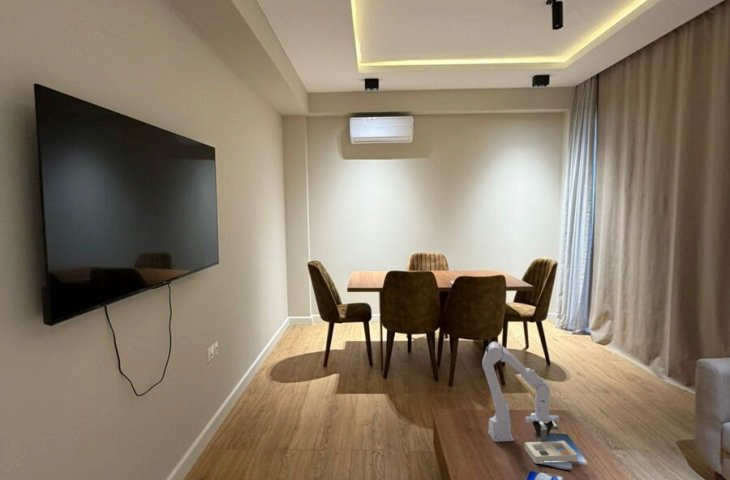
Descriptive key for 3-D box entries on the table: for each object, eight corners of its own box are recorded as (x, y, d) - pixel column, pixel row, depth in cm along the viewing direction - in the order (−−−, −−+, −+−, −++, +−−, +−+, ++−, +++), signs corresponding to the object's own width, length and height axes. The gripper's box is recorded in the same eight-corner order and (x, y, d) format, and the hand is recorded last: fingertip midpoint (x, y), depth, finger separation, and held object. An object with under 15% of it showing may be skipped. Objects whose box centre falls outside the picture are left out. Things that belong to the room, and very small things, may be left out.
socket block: (535, 463, 157) (535, 455, 157) (524, 448, 167) (524, 441, 167) (577, 461, 157) (577, 454, 157) (564, 447, 167) (564, 440, 167)
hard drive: (557, 425, 183) (546, 412, 195) (540, 425, 183) (530, 412, 196) (557, 429, 183) (546, 415, 195) (540, 428, 183) (530, 415, 196)
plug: (540, 444, 170) (540, 427, 169) (537, 441, 173) (537, 424, 172) (547, 444, 170) (547, 427, 169) (543, 440, 173) (543, 423, 172)
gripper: (530, 412, 166) (530, 442, 167) (562, 411, 167) (562, 441, 167) (523, 404, 173) (523, 433, 174) (554, 403, 174) (554, 432, 174)
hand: (542, 436), depth 171 cm, fingers closed on plug, 3 cm apart
